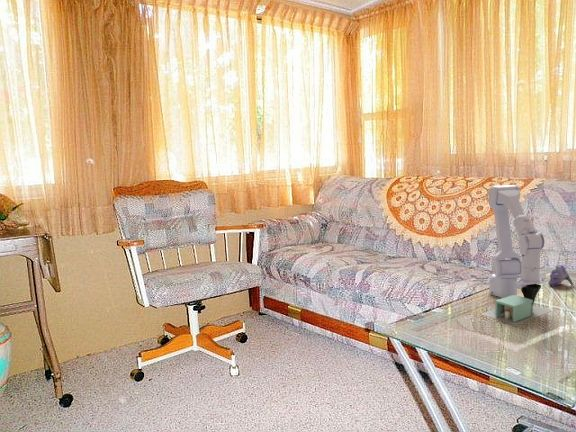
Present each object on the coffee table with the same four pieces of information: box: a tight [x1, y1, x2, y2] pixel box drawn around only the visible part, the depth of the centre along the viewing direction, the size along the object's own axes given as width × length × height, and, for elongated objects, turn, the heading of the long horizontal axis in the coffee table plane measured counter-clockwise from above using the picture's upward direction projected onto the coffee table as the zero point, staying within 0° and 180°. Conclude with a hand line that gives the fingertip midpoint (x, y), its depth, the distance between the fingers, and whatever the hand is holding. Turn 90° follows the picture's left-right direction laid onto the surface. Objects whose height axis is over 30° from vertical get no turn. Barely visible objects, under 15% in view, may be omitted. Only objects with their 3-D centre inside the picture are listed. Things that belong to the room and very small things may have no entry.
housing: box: [494, 295, 534, 322], centre depth 160 cm, size 7×10×5 cm
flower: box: [547, 264, 574, 287], centre depth 195 cm, size 9×9×10 cm
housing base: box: [480, 305, 552, 326], centre depth 163 cm, size 13×22×4 cm, turn 121°
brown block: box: [504, 305, 513, 319], centre depth 160 cm, size 4×4×5 cm
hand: (529, 304), depth 165 cm, fingers closed
